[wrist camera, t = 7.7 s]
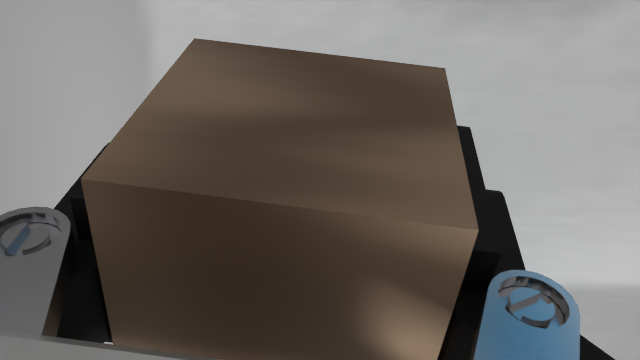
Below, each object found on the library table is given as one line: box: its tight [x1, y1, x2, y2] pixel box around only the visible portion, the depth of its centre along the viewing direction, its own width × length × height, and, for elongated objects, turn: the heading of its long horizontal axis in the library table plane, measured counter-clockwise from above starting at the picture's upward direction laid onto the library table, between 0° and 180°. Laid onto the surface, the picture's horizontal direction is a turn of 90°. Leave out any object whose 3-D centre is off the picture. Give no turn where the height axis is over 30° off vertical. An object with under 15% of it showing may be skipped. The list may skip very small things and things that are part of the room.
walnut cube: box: [81, 38, 479, 360], centre depth 10 cm, size 5×5×5 cm
